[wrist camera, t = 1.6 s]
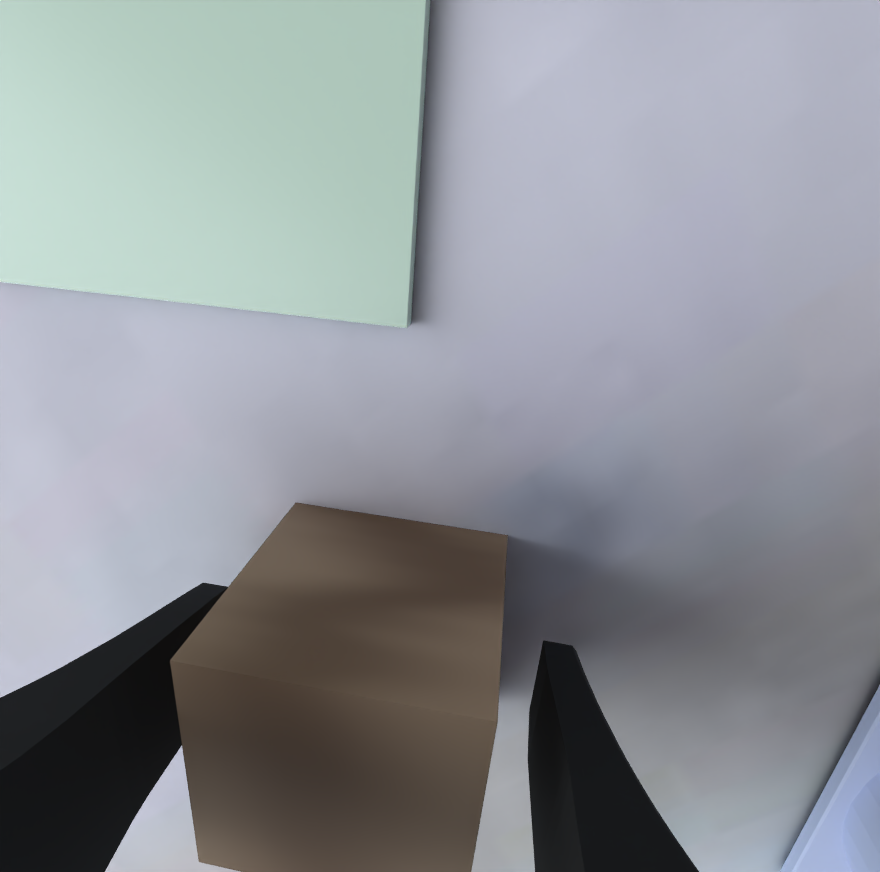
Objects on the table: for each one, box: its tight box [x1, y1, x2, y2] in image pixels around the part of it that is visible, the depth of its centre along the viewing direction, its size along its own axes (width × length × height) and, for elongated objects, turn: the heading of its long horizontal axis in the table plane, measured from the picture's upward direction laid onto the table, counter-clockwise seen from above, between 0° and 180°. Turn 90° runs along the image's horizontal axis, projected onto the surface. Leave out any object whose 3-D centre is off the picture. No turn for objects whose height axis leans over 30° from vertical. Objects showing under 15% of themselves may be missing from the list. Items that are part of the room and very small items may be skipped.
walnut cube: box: [170, 503, 508, 872], centre depth 11 cm, size 5×5×5 cm
